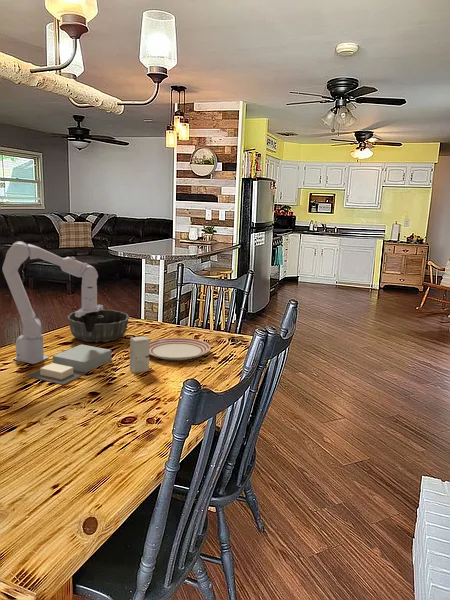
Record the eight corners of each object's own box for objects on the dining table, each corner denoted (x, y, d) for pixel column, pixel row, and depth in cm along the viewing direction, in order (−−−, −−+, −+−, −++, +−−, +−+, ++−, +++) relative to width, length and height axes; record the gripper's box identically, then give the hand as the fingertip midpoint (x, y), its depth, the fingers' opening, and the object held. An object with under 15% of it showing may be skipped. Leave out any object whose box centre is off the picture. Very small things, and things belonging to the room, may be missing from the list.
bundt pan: (138, 333, 217) (138, 312, 215) (112, 349, 192) (112, 326, 190) (87, 327, 222) (86, 306, 220) (55, 342, 197) (54, 319, 195)
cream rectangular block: (52, 362, 165) (52, 369, 166) (40, 368, 160) (40, 374, 160) (73, 367, 162) (73, 373, 163) (61, 372, 157) (61, 379, 157)
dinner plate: (129, 357, 184) (129, 349, 183) (164, 340, 209) (164, 333, 208) (192, 370, 174) (192, 361, 173) (220, 350, 199) (221, 342, 198)
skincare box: (133, 373, 167) (134, 341, 164) (129, 369, 170) (129, 337, 168) (149, 370, 170) (150, 338, 168) (144, 366, 174) (145, 335, 171)
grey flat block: (53, 366, 170) (52, 355, 169) (81, 354, 184) (81, 344, 183) (84, 373, 165) (84, 362, 164) (111, 359, 179) (111, 350, 178)
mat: (25, 376, 159) (25, 375, 159) (50, 365, 170) (50, 365, 170) (63, 385, 153) (63, 384, 153) (86, 373, 164) (86, 372, 164)
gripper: (85, 301, 170) (86, 337, 173) (109, 295, 183) (109, 328, 186) (70, 299, 172) (70, 334, 175) (94, 293, 186) (94, 326, 188)
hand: (89, 331), depth 181 cm, fingers closed
